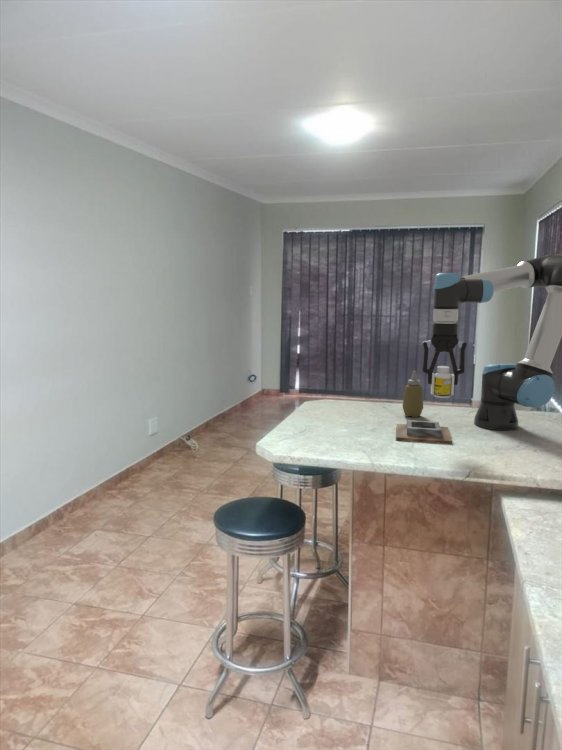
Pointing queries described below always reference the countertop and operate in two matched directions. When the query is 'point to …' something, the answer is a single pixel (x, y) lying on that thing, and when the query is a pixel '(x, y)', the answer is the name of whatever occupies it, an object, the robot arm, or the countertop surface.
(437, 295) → the robot arm
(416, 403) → the squeeze bottle
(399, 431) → the socket holder
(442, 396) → the supplement bottle
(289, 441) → the countertop surface
